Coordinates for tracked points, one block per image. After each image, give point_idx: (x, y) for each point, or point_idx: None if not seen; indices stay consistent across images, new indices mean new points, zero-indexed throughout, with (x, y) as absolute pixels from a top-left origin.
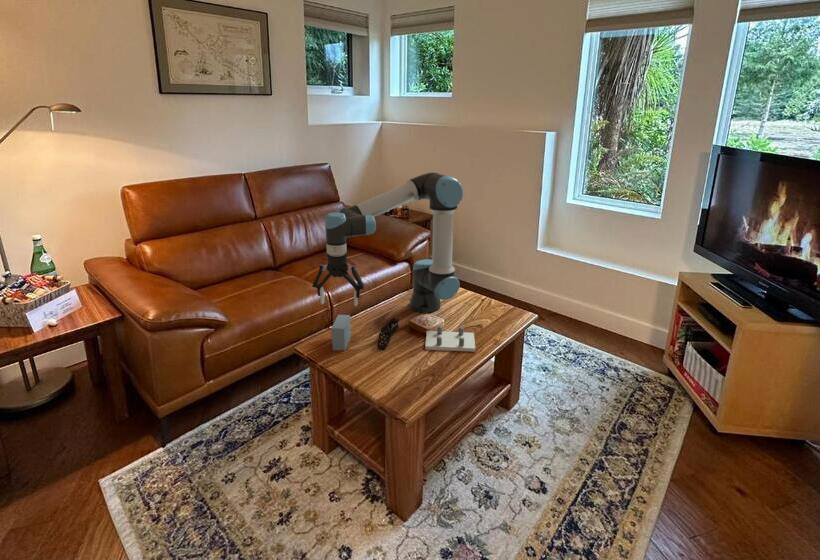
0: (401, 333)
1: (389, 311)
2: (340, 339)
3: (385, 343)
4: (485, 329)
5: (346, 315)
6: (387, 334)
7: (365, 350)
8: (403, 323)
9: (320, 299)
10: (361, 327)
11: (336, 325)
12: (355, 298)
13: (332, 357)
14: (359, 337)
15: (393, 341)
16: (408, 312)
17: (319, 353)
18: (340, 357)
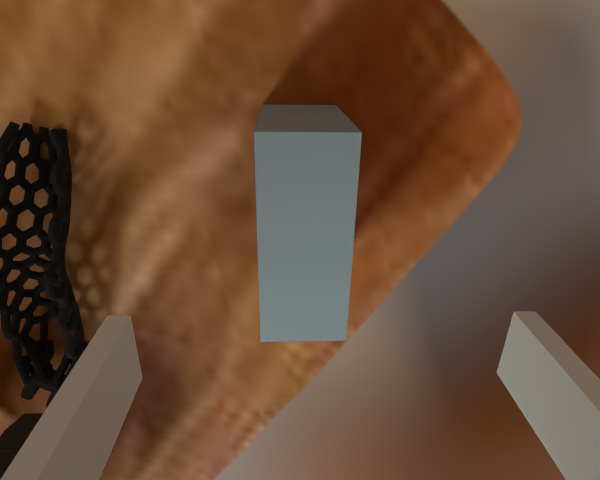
0: None
1: (140, 475)
2: (287, 116)
3: (36, 185)
4: None
5: (284, 335)
6: (33, 252)
7: (141, 116)
8: None
9: (576, 355)
10: (232, 342)
11: (327, 183)
12: (67, 392)
13: (321, 13)
14: (216, 251)
15: None
16: None
17: (409, 57)
18: (271, 16)
